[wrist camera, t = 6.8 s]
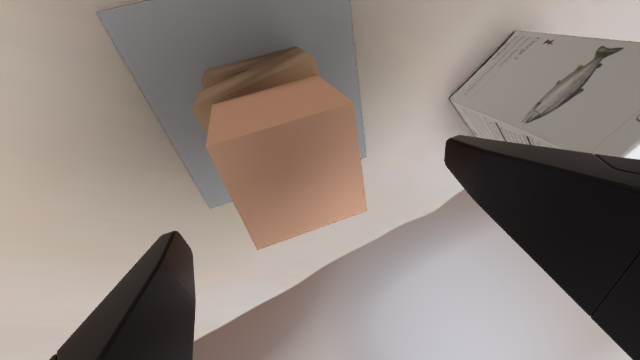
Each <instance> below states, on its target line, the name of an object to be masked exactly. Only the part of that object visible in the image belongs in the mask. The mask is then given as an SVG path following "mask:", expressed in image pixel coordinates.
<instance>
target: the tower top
mask: <svg viewBox="0 0 640 360" xmlns="http://www.w3.org/2000/svg"><path fill="white" fill-rule="evenodd" d="M315 75H318V76H319V77H321V76H320V73H319V70H318V67H317V64H316V61H315V58H314V56H313V55H311V54H309V53H308V52H306V51H304V50H302V49H301V48H299V47H298V48H296V49H294V50H292V51H289V52H287V53H285V54H283V55H280V56H278V57H276V58H274V59H271V60H269V61H267V62H265V63H262V64H260V65H258V66H256V67H253V68H251V69H249V70H247V71H244V72H242V73H240V74H238V75H235V76H233V77H231V78H229V79H226V80H224V81H222V82H220V83H217V84H215V85H213V86H211V87H209V88H206V89H204V90H202V91H200V92H198V93H197V96H196V99H195V102H194V105H193V108H192V110H191V111H192V112H193V114H194V115H195V117H196V118H197V120H198V121H199V123H200V124H201V126H202V127H203V129H204V130H205V132H206V133H207V135H208V128H209V121H210V114H211V108H212V105H213V104H217V103H220V102H224V101H227V100H231V99H234V98H238V97H241V96H245V95H248V94H252V93H255V92H259V91H262V90H266V89H269V88H273V87H276V86H280V85H283V84H287V83H290V82H294V81H297V80H301V79H305V78H308V77H312V76H315Z"/></svg>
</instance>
